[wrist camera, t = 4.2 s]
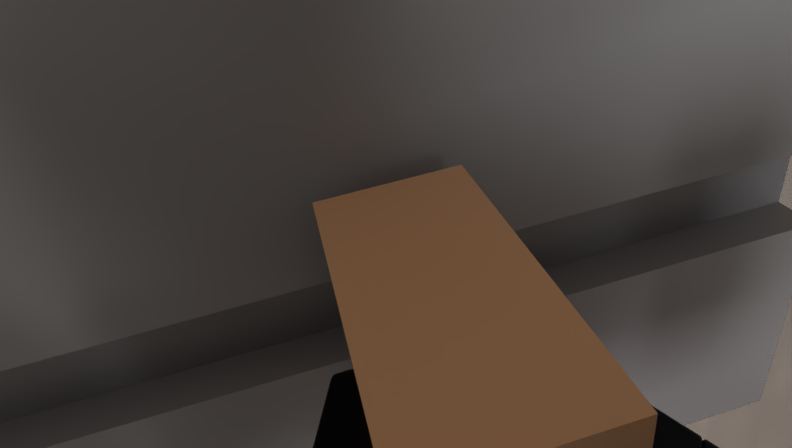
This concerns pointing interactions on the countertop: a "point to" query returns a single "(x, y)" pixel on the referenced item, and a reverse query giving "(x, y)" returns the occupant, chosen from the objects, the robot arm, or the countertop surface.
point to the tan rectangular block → (466, 327)
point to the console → (365, 168)
